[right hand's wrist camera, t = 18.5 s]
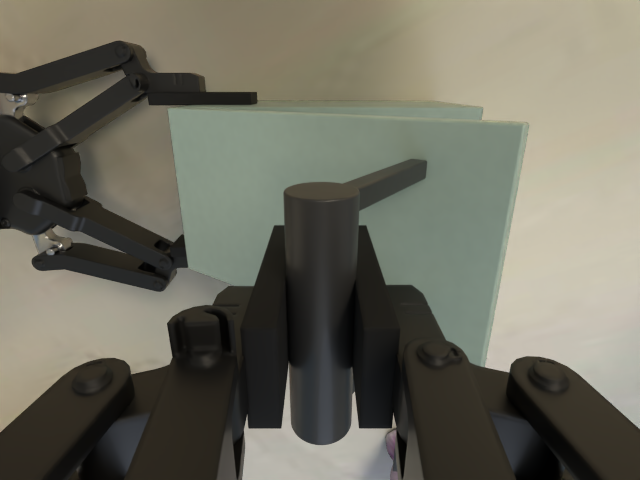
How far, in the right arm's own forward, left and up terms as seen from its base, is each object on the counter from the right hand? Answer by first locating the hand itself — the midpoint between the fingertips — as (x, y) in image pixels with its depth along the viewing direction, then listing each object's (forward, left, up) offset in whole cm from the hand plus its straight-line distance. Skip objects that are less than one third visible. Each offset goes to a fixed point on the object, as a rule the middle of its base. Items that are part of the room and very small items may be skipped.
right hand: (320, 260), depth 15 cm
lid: (0, 0, -5) cm, 5 cm away
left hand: (+2, -4, -15) cm, 15 cm away
